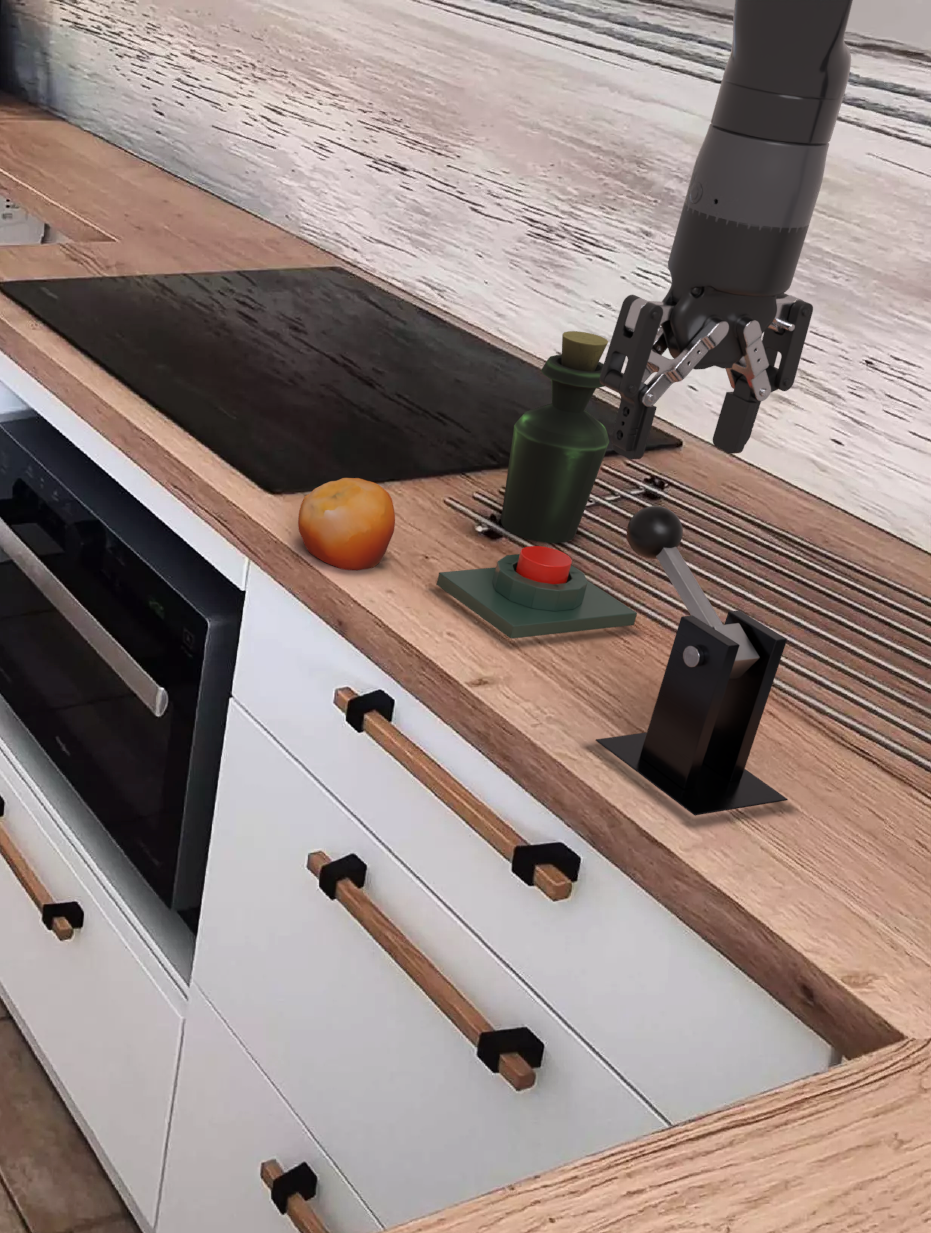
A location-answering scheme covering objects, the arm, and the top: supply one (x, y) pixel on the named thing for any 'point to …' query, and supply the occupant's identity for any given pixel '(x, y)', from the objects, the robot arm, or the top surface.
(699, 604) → the switch lever
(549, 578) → the button
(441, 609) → the top surface
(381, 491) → the fruit
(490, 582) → the button box
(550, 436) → the potion bottle
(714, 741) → the switch bracket
